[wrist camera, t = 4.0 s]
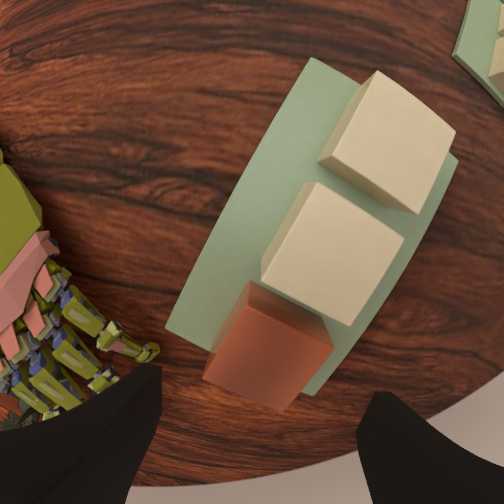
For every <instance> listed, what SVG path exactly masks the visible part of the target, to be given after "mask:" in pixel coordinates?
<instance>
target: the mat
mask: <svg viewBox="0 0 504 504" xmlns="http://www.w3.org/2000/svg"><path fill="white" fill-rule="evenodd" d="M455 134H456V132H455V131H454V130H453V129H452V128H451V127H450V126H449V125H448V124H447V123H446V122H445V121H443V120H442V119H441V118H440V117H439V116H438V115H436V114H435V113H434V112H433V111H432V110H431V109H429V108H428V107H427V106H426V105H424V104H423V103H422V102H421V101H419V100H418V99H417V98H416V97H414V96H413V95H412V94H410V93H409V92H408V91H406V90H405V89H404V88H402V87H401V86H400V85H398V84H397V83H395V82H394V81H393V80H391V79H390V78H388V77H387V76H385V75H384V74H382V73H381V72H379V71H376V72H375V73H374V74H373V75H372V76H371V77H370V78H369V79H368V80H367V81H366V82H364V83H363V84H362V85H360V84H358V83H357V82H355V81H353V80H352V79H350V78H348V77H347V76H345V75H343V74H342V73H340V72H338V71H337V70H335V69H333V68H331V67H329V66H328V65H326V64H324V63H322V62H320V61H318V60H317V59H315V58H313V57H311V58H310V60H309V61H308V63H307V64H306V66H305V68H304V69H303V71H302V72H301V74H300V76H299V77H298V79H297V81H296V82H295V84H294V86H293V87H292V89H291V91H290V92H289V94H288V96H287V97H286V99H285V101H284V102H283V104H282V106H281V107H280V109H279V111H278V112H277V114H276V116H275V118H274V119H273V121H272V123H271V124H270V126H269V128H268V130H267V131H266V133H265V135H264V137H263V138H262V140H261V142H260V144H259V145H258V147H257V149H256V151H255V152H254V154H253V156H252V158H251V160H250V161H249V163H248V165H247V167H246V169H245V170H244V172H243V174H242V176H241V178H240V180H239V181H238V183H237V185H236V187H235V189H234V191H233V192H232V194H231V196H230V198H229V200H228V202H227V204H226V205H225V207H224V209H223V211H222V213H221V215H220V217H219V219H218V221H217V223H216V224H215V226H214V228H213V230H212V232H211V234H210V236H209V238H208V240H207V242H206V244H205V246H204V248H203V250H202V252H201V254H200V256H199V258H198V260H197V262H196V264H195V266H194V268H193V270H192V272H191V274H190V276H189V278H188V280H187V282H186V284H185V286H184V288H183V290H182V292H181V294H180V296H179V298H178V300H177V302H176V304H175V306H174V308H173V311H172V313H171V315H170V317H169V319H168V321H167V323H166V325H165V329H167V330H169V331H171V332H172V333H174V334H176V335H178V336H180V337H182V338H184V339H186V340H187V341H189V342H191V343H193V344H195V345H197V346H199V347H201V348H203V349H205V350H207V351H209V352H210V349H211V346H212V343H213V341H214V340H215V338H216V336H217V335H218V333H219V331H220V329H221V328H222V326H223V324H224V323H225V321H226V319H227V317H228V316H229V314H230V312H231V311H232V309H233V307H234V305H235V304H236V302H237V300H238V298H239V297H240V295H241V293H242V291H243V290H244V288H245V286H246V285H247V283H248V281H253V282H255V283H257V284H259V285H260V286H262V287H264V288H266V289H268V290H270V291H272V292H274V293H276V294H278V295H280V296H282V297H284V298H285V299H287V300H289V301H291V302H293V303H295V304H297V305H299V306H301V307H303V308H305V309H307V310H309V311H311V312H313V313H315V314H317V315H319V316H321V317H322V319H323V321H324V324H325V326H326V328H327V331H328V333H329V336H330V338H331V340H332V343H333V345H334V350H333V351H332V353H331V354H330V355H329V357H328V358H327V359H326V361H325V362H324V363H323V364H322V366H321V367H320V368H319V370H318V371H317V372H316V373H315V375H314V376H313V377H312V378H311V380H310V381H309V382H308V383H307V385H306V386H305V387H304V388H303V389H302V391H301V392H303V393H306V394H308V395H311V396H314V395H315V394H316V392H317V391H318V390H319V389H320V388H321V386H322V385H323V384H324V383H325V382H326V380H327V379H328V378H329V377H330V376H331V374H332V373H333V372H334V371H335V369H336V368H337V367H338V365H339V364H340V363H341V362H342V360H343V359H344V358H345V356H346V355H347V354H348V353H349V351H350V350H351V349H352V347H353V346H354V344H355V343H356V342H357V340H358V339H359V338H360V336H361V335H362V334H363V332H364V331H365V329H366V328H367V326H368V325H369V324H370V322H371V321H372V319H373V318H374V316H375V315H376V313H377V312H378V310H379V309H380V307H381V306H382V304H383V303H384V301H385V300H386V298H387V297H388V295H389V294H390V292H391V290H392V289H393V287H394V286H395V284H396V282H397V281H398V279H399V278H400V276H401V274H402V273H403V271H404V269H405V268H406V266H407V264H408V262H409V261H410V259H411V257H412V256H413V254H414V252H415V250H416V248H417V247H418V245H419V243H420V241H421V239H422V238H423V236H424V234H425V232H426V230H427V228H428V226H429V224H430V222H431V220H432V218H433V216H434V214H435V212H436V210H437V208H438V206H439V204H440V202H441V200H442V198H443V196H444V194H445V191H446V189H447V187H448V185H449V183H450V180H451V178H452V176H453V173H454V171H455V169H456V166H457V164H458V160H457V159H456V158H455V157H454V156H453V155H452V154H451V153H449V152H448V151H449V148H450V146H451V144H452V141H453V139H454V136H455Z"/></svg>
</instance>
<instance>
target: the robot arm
mask: <svg viewBox="0 0 504 504" xmlns="http://www.w3.org/2000/svg"><path fill="white" fill-rule="evenodd" d="M161 412H162V366H158V365H154V364H150V363H146V362H144V363H142V364H140V365H139V366H138V367H136V368H135V369H133V370H132V371H131V372H129V373H128V374H127V375H125V376H124V377H122V378H121V379H120V380H118V381H117V382H115V383H114V384H112V385H111V386H109V387H108V388H106V389H105V390H103V391H102V392H100V393H99V394H97V395H95V396H94V397H92V398H90V399H88V400H87V401H85V402H83V403H81V404H80V405H78V406H76V407H74V408H72V409H70V410H68V411H66V412H64V413H61V414H59V415H57V416H54V417H52V418H49V419H46V420H43V421H40V422H37V423H34V424H30V425H27V426H24V427H20V428H16V429H11V430H6V431H0V504H125V502H126V498H127V495H128V492H129V489H130V487H131V484H132V482H133V480H134V477H135V475H136V473H137V471H138V469H139V467H140V465H141V462H142V460H143V458H144V456H145V454H146V452H147V450H148V447H149V445H150V443H151V441H152V439H153V437H154V434H155V432H156V428H157V425H158V422H159V419H160V416H161ZM356 439H357V447H358V453H359V457H360V461H361V464H362V468H363V471H364V475H365V478H366V481H367V485H368V488H369V491H370V495H371V498H372V502H373V504H504V467H502V466H499V465H496V464H494V463H491V462H489V461H487V460H485V459H482V458H480V457H478V456H476V455H474V454H473V453H471V452H469V451H467V450H466V449H464V448H462V447H460V446H459V445H457V444H456V443H454V442H453V441H451V440H450V439H449V438H447V437H446V436H445V435H443V434H442V433H440V432H439V431H438V430H436V429H435V428H434V427H433V426H431V425H430V424H429V423H428V422H427V421H425V420H424V419H423V418H422V417H421V416H419V415H418V414H417V413H416V412H415V411H413V410H412V409H411V408H410V407H409V406H408V405H406V404H405V403H404V402H403V401H402V400H400V399H399V398H398V397H397V396H395V395H394V394H393V393H391V392H375V394H374V396H373V398H372V400H371V402H370V404H369V406H368V408H367V410H366V412H365V414H364V416H363V418H362V420H361V422H360V424H359V426H358V428H357V429H356Z"/></svg>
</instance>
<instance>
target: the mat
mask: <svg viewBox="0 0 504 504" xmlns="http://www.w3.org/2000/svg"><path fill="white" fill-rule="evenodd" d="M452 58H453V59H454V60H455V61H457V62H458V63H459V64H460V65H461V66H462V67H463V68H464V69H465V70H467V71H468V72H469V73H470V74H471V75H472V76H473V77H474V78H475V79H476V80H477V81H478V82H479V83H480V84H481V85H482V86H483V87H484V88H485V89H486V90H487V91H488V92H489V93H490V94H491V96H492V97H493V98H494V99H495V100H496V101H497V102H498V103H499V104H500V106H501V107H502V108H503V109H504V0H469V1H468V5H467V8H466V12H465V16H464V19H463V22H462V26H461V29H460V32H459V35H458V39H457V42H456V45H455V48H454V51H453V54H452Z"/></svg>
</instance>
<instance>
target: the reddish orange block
mask: <svg viewBox="0 0 504 504" xmlns="http://www.w3.org/2000/svg"><path fill="white" fill-rule="evenodd" d="M333 350H334V345H333V343H332V340H331V338H330V336H329V333H328V331H327V328H326V326H325V324H324V321H323V319H322V317H321V316H319V315H317V314H315V313H313V312H311V311H309V310H307V309H305V308H303V307H301V306H299V305H297V304H295V303H293V302H291V301H289V300H287V299H285V298H284V297H282V296H280V295H278V294H276V293H274V292H272V291H270V290H268V289H266V288H264V287H262V286H260V285H259V284H257V283H255V282H253V281H248V283H247V285H246V286H245V288H244V290H243V291H242V293H241V295H240V297H239V298H238V300H237V302H236V304H235V305H234V307H233V309H232V311H231V312H230V314H229V316H228V317H227V319H226V321H225V323H224V324H223V326H222V328H221V329H220V331H219V333H218V335H217V336H216V338H215V340H214V341H213V343H212V346H211V349H210V352H209V356H208V359H207V362H206V366H205V369H204V372H203V376H202V379H203V380H206V381H208V382H210V383H212V384H214V385H216V386H219V387H221V388H223V389H225V390H228V391H230V392H232V393H235V394H237V395H239V396H242V397H244V398H247V399H249V400H252V401H254V402H257V403H259V404H262V405H264V406H267V407H269V408H272V409H275V410H277V411H280V412H284V411H285V409H286V408H287V407H288V406H289V405H290V404H291V402H292V401H293V400H294V399H295V398H296V397H297V395H298V394H299V393H300V392H301V391H302V389H303V388H304V387H305V386H306V385H307V383H308V382H309V381H310V380H311V378H312V377H313V376H314V375H315V373H316V372H317V371H318V370H319V368H320V367H321V366H322V364H323V363H324V362H325V361H326V359H327V358H328V357H329V355H330V354H331V353H332V351H333Z"/></svg>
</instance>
